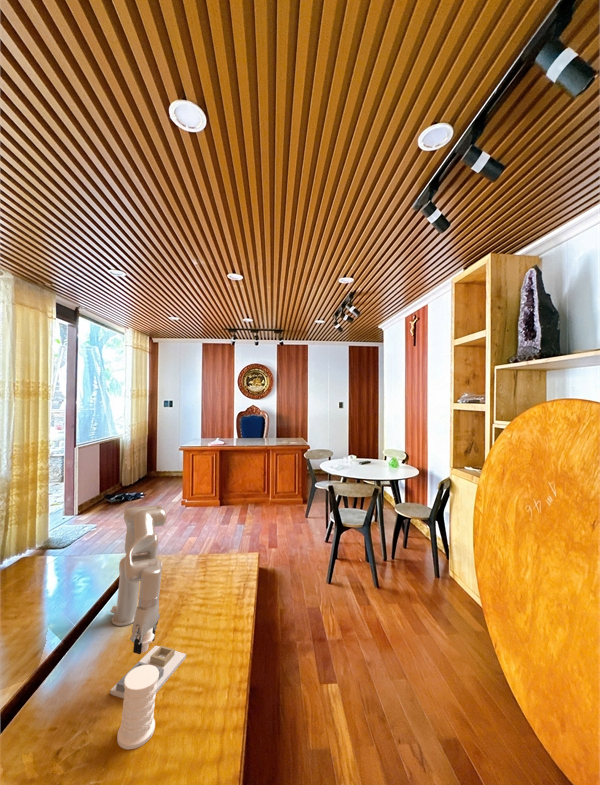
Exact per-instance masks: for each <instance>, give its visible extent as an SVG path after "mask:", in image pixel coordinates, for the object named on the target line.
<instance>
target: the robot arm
mask: <svg viewBox="0 0 600 785" xmlns="http://www.w3.org/2000/svg"><path fill="white" fill-rule="evenodd" d="M123 519H124V522H125V526H126V533H125V541H124V553H125V556H124V557H122V558H121V559H120V561H119V564H118V570H119V574H118V575H119V579H118V580H119V582H118V592H117V599H116V605H113V606H112V607H111V610H110V613H111V614H113V616H112V617H111V624H113V625H114V626H117V627H124V626H128V625H131V624H132V629H131V633H132V634H131V635H130V638H129V640H130V641H131V643H133V653H134V654H135V655H136V654H137V655H141V653H142V652H141V650H142V643H141V641H142V638H143V635H144V634H146V633H147V632H148V631H149V630H150V629H151V628H152V627H153V632H152V633H153V634H155V636H154V639H153V640H152V642H154V641H155V640H156V639H155V638H156V630H157V628H158V626H157V625H158V624H159V620H160V617H161V614H160V601H159V600H160V591H161V583H162V582H161V580H162V571H163V562H162V560H161V558H157V556H158V548H159V536H158V534H156V531H155V527H163V526H164V525H166V522H167V512H166V510H165V509H164V507H162V506H161V505H148V506H147V505H146V506H135V507H134V506H133V507H132V506H131V507H128V508H126V509H125V510H124V514H123ZM139 632H140V633H139ZM138 636H140V638H139V639H137V637H138Z"/></svg>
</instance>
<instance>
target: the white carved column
mask: <svg viewBox="0 0 600 785" xmlns="http://www.w3.org/2000/svg"><path fill="white" fill-rule="evenodd" d="M130 670H131V669H130ZM130 670H129V671H130ZM129 671H128V672H129ZM128 672H127V673H128ZM127 673H126V674H127ZM126 674H125V675H126ZM158 678H159V670H158V669H157V668H156V667H155V666H153V665H142V666H139V667H136V668H134V669H133V670H131V671H130V672H129V673H128V674H127V675H126V677H125V680H124V688H125V691H124V699H123V701H122V711H121V722H120V726H119V728H118V730H117V737H116V741H117V742H116V743H117V744H118V746H119V747H120V748H121V749H124V750H135V749H138V748H140V747H142V746H144V745H145V744H146V743H147V742H149V740H150V739H151V738H152V736H153V735H154V733H155V728H156V720H155V718H154V717H155V713H154V712H155V711H154V710H155V708H156V702H155V700H156V696H157V693H156V692H155V691H156V688H157V687H156V686H157V681H158Z"/></svg>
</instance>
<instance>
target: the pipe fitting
mask: <svg viewBox="0 0 600 785" xmlns="http://www.w3.org/2000/svg"><path fill="white" fill-rule="evenodd" d="M152 632H153V627H152V628H151V629H150V630H149V631H148V632H147V633H146V634H144V635H143V638H142V641H141V643H142V650H141V653H146V652H148V650H149V644H151V643H152V642H153V641H152V640H153V639H154V636H155V637H156V633H155V634H153V633H152ZM139 633H140V632H139ZM139 638H140V636H138V637H137V639H139Z"/></svg>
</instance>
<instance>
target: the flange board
mask: <svg viewBox="0 0 600 785" xmlns="http://www.w3.org/2000/svg"><path fill="white" fill-rule="evenodd" d="M186 658H187V653H184V652H181V651H177V650H176V649H174V648H171V647H168V646H164V645H160V646H159V645H155V646H153V647H152V648H151V650H149V651H147V653H146V654H144V656H143V657H142V658H141V659H140V660H139V661H138V662H137V663H136V664H134V665H133V667H132V668H131V669H129V671H128V672H127V673H126V674H125V675H124V676H122V677H121V679H120V680H118V681H117V682H116V684H115V685H113V687H112V688H110V692H109V694H110V695H111V696H115V697H117V698H120V699H123V700H124V691H125V688H124V680H125V677H126V675H127V674H128V673H129V672H130V671H131V670H133V669H134V668H136V667H139V666H142V665H153V666H155V667H156V668H157V669H158V670H159V678H158V681H157V686H156V687H157V688H156V691H155V692H156V694H157V693H158V692H159V691H160V690H161V689H162V687H163V686H164V685H165V683H166V682H167V681H168V680H169V678H171V677H172V675H173V674H174V673H175V672H176V670H177V669H178V668H179V667H180V666H181V664H182V663H183V662H184V661H185V660H186Z"/></svg>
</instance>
